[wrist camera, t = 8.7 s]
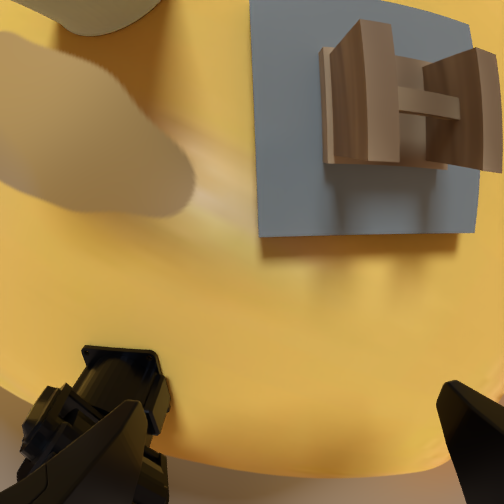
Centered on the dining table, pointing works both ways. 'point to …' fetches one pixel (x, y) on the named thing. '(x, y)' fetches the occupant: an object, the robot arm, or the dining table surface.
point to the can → (91, 13)
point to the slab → (310, 128)
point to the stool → (408, 105)
